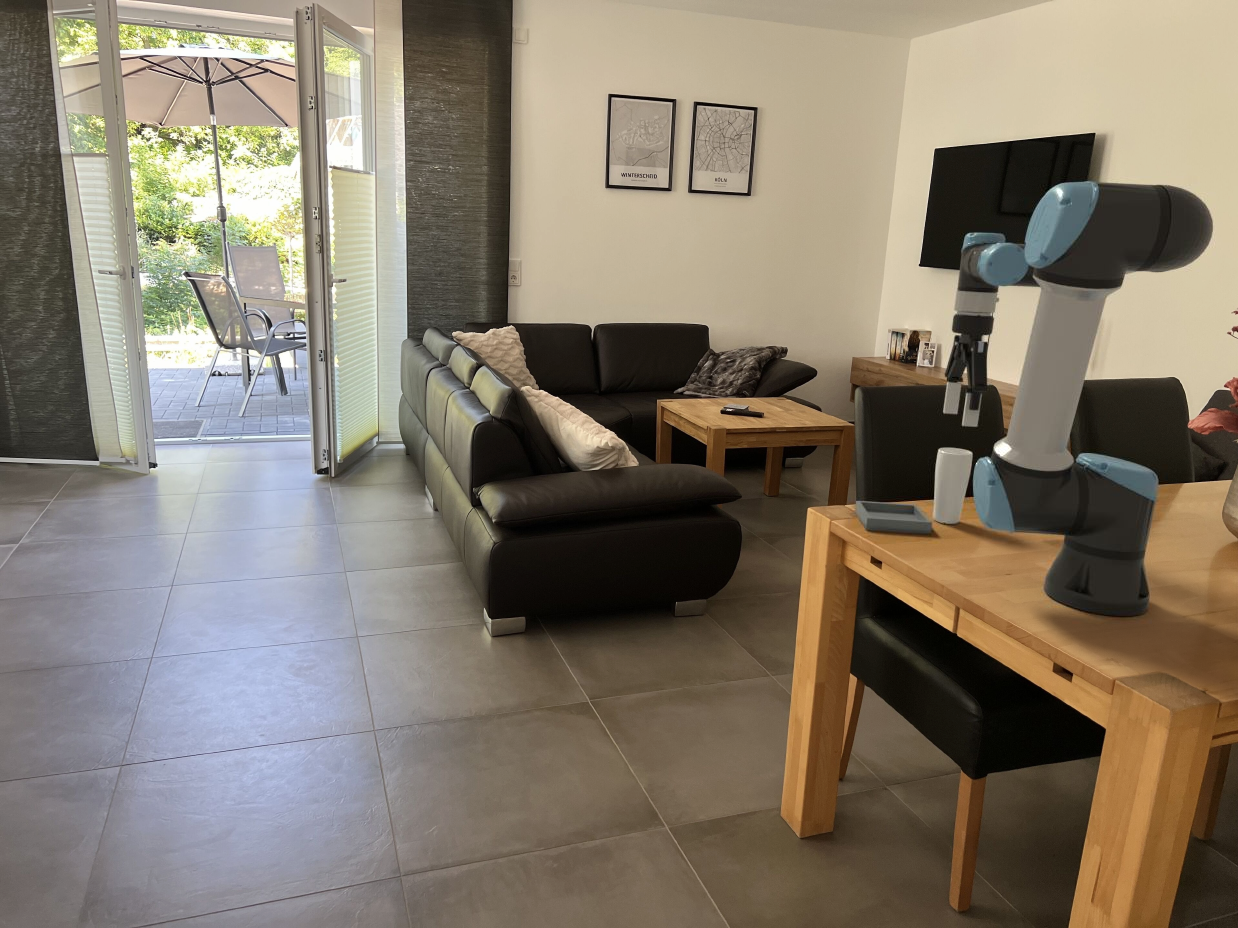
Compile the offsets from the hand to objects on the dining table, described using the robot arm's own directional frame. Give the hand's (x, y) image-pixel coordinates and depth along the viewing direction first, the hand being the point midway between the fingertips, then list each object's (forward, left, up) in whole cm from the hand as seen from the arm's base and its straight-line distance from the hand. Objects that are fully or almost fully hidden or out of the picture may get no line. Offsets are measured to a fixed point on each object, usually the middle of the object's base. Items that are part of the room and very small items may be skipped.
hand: (959, 419), depth 179 cm
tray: (-4, +12, -22) cm, 25 cm away
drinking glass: (0, 0, -22) cm, 22 cm away
